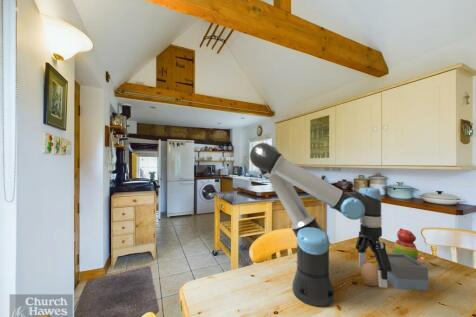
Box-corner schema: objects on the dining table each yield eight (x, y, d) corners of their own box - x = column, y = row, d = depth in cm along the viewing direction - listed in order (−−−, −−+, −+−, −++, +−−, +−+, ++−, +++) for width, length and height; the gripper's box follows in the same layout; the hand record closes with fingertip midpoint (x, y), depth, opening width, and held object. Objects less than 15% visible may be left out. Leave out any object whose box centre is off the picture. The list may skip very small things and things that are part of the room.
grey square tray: (396, 288, 80) (396, 266, 80) (377, 272, 92) (377, 252, 92) (428, 290, 79) (428, 267, 79) (404, 273, 91) (404, 253, 91)
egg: (383, 291, 78) (383, 268, 78) (364, 288, 80) (364, 265, 80) (377, 281, 85) (377, 260, 85) (359, 278, 87) (359, 258, 87)
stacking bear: (426, 273, 92) (425, 234, 92) (401, 270, 94) (400, 232, 94) (410, 261, 102) (410, 227, 102) (388, 259, 104) (388, 225, 104)
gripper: (403, 236, 70) (404, 296, 70) (362, 217, 95) (363, 261, 95) (381, 235, 71) (382, 296, 70) (346, 216, 96) (347, 261, 95)
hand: (371, 276), depth 82 cm, fingers open, 13 cm apart
